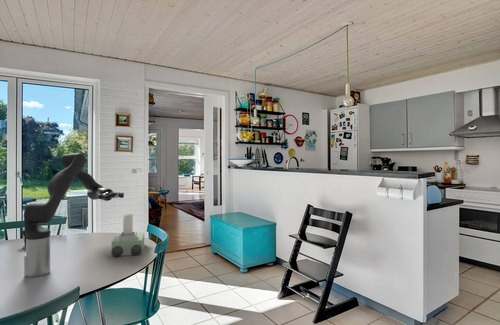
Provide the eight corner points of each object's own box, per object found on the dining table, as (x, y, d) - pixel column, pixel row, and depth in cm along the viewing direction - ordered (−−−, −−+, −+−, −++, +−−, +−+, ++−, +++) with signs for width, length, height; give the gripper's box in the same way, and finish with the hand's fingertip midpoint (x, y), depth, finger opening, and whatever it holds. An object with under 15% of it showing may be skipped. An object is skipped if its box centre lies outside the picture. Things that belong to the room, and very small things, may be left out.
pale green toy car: (111, 257, 162) (111, 237, 162) (117, 245, 183) (117, 228, 182) (141, 255, 167) (141, 235, 166) (144, 244, 187) (144, 226, 187)
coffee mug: (37, 246, 179) (37, 230, 179) (20, 247, 176) (20, 231, 176) (43, 241, 190) (42, 225, 190) (26, 242, 187) (26, 226, 187)
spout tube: (122, 240, 167) (122, 215, 167) (123, 238, 172) (123, 214, 172) (132, 239, 168) (132, 215, 168) (132, 237, 173) (133, 213, 173)
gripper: (92, 188, 180) (102, 191, 169) (116, 187, 190) (127, 189, 179) (92, 201, 180) (102, 204, 169) (116, 199, 190) (127, 201, 179)
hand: (115, 196), depth 174 cm, fingers open, 8 cm apart
